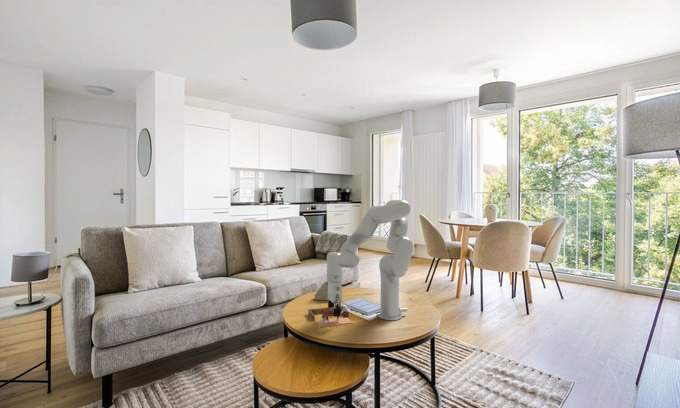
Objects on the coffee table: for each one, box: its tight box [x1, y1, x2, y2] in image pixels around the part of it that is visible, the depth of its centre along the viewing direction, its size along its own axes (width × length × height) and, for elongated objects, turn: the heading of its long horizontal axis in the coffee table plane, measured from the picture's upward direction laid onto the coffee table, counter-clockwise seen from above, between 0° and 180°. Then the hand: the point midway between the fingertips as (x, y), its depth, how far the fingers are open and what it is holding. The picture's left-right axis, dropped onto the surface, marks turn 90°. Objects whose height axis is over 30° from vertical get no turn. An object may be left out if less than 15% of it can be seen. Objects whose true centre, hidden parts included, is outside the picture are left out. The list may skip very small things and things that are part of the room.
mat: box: [316, 317, 353, 328], centre depth 156 cm, size 16×7×1 cm, turn 108°
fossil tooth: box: [314, 280, 328, 301], centre depth 193 cm, size 12×6×15 cm
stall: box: [307, 306, 350, 322], centre depth 166 cm, size 19×10×2 cm, turn 108°
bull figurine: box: [321, 303, 349, 324], centre depth 157 cm, size 4×13×8 cm, turn 108°
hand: (334, 312), depth 156 cm, fingers open, 9 cm apart
